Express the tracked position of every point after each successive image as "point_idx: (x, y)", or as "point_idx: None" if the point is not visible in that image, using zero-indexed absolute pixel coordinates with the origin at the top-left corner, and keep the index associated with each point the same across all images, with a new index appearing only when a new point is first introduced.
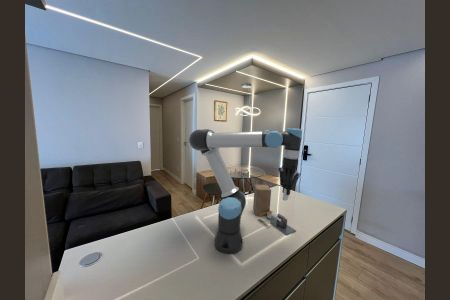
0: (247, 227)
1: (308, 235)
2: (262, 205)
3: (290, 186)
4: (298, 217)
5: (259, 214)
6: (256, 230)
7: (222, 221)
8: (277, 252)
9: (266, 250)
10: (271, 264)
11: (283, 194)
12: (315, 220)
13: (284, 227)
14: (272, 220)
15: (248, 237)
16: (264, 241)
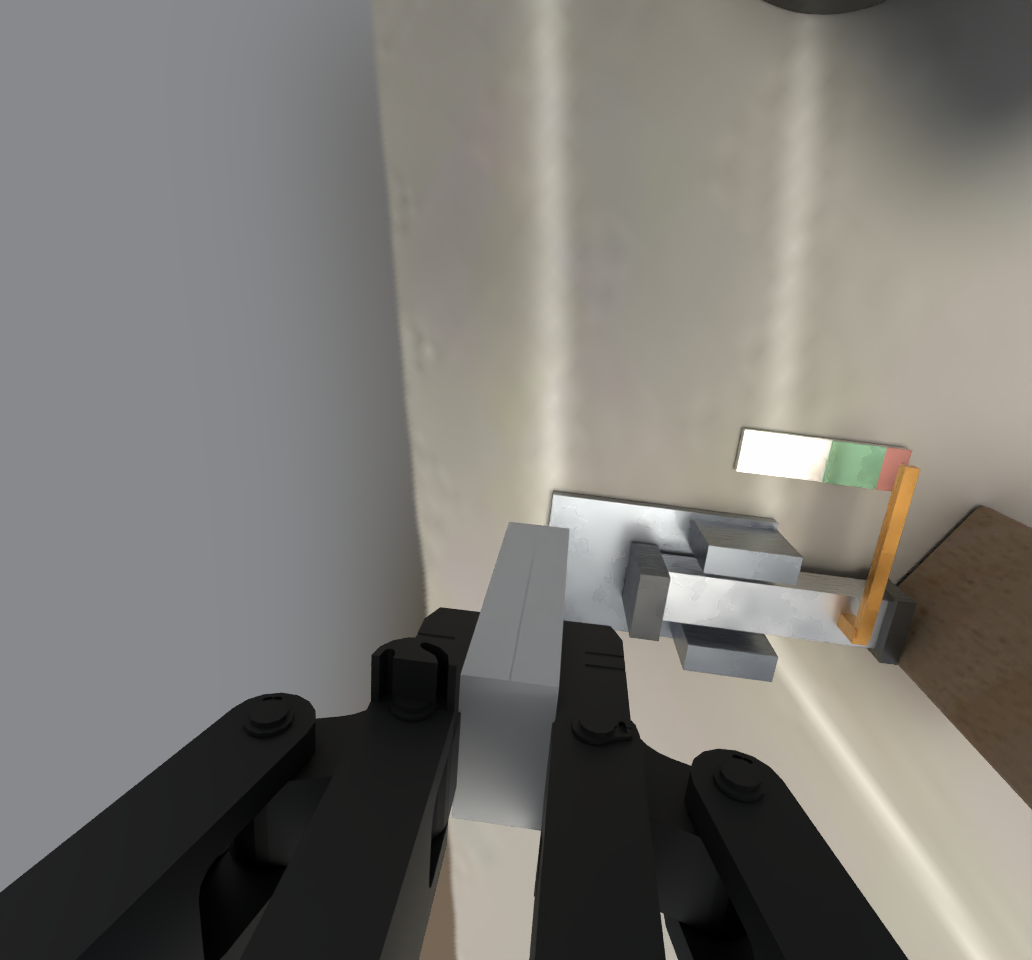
0: (897, 252)
1: None
2: (1011, 623)
3: (244, 778)
4: None
5: (956, 546)
6: (791, 301)
7: None
8: (458, 218)
9: (530, 146)
10: (394, 43)
11: (557, 584)
12: (529, 898)
13: None
14: (758, 538)
15: (769, 128)
16: (624, 233)
